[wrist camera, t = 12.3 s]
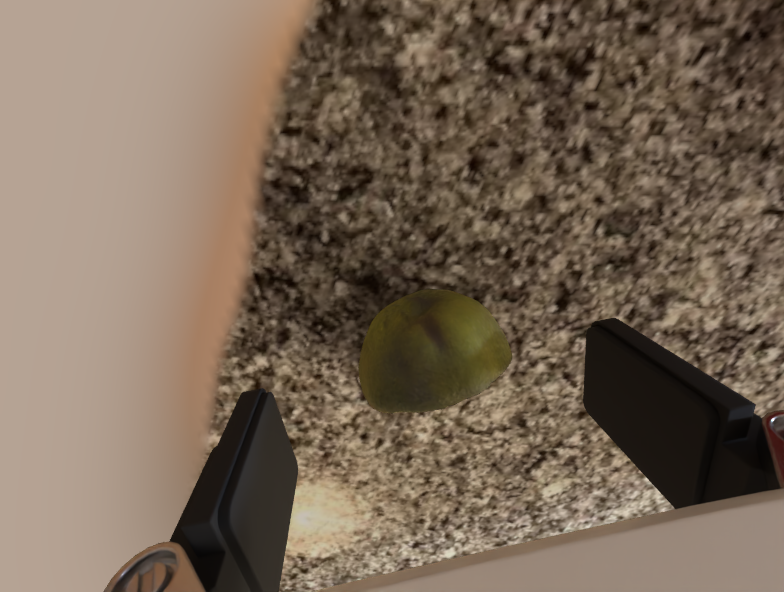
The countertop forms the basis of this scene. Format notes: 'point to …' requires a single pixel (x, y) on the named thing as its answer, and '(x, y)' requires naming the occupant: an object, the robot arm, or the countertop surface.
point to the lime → (430, 352)
